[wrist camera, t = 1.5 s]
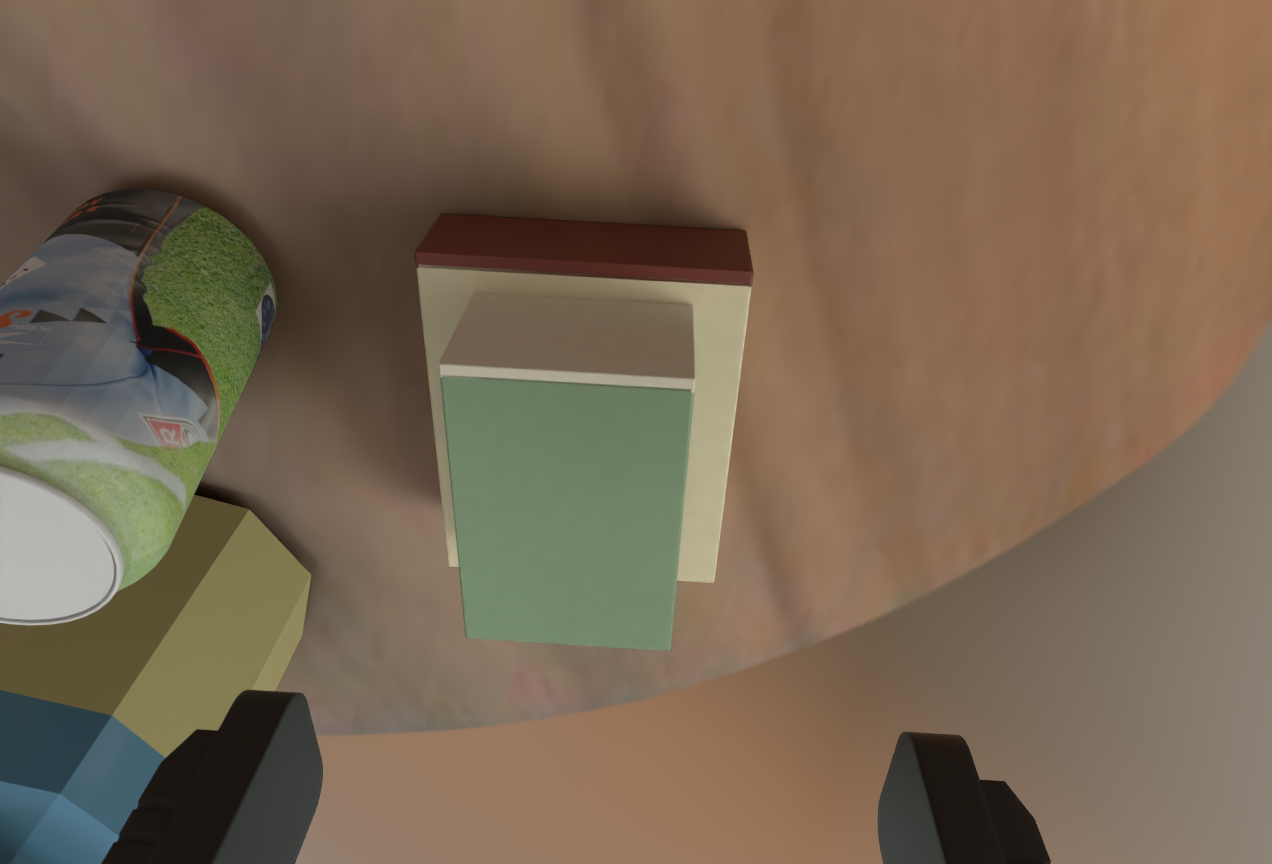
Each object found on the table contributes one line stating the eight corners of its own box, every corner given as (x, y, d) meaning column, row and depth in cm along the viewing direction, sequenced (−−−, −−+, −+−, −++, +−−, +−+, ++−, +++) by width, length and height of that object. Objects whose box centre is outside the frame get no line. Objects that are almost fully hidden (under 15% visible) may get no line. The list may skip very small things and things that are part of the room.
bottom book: (440, 212, 25) (413, 252, 23) (746, 230, 25) (753, 271, 23) (466, 511, 31) (447, 567, 29) (711, 526, 31) (714, 584, 29)
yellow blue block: (281, 465, 31) (7, 881, 18) (349, 644, 36) (170, 1065, 23) (40, 474, 31) (-383, 880, 19) (139, 648, 36) (-143, 1059, 24)
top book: (472, 291, 23) (438, 363, 20) (693, 304, 23) (695, 378, 20) (490, 547, 28) (465, 639, 25) (671, 559, 28) (670, 652, 25)
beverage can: (124, 129, 24) (-264, 320, 14) (359, 277, 26) (164, 530, 16) (62, 292, 27) (-295, 544, 17) (278, 413, 29) (71, 697, 19)
